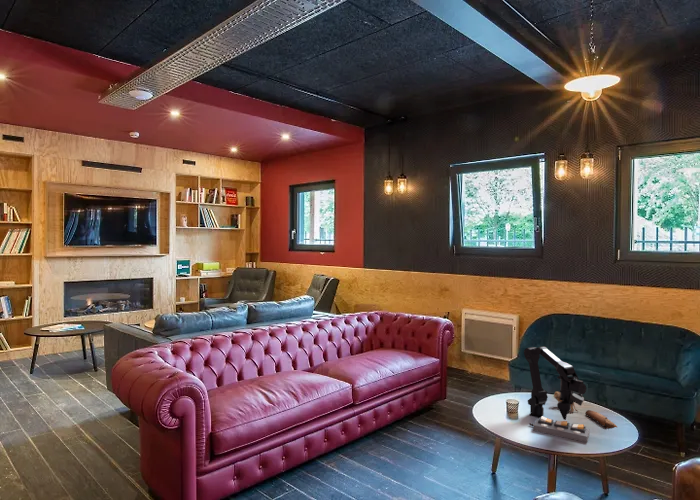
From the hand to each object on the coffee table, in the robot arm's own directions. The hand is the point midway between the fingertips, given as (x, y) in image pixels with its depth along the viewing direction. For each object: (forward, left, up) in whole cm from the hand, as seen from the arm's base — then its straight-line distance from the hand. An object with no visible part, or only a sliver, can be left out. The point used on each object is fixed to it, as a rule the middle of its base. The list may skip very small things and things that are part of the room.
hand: (566, 416), depth 246 cm
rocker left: (-9, -5, -3) cm, 11 cm away
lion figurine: (-5, +31, -7) cm, 32 cm away
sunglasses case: (+15, +22, -8) cm, 28 cm away
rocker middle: (-1, -5, -3) cm, 6 cm away
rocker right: (+7, -5, -3) cm, 8 cm away
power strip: (-3, -7, -7) cm, 10 cm away
